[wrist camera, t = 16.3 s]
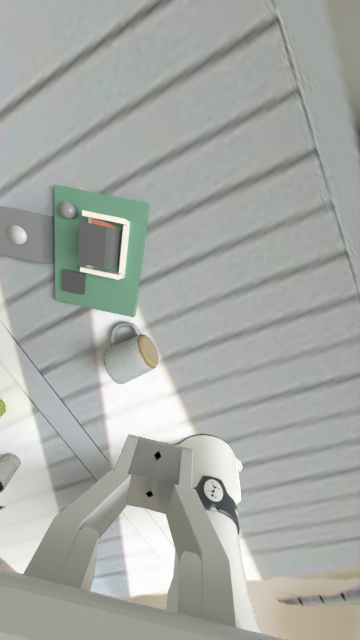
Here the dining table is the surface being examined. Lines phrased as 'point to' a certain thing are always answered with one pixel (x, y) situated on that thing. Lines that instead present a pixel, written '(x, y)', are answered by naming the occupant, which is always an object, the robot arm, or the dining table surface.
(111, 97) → the dining table surface
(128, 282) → the board
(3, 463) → the house plant
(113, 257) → the plug
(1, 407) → the plant pot
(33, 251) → the gray push button box
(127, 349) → the ceramic mug
